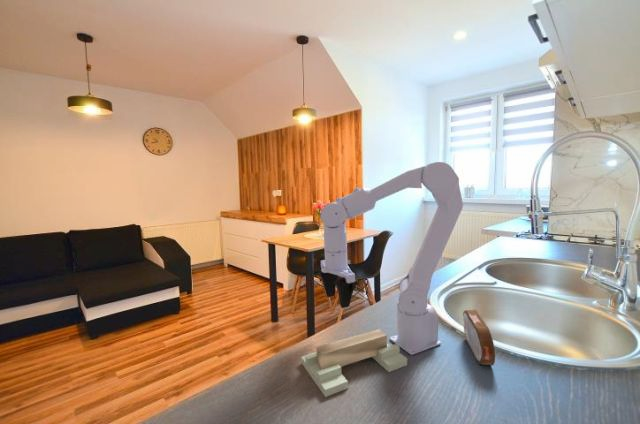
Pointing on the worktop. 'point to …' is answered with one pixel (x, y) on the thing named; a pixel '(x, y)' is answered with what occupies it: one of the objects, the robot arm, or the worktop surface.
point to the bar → (351, 349)
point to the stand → (332, 376)
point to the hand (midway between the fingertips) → (337, 301)
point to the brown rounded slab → (479, 337)
